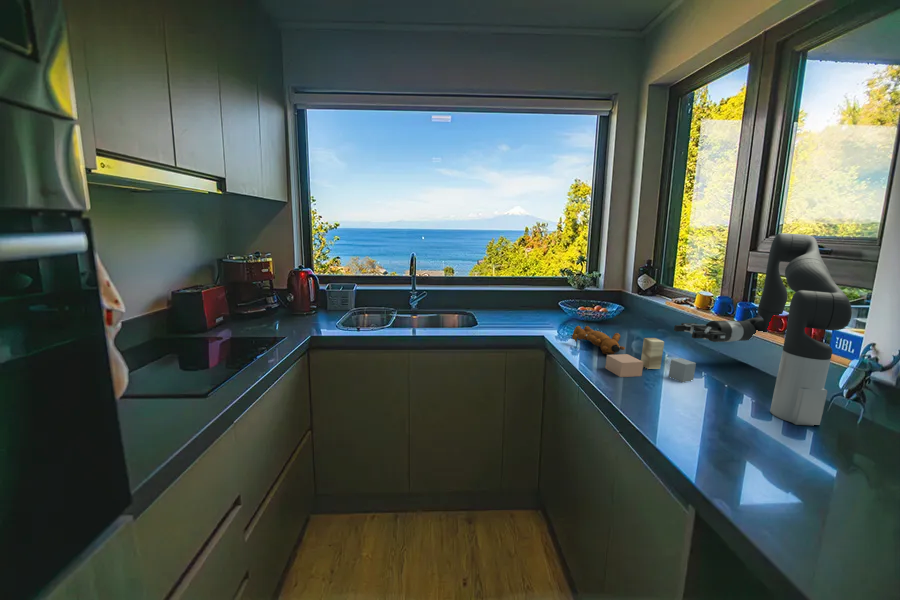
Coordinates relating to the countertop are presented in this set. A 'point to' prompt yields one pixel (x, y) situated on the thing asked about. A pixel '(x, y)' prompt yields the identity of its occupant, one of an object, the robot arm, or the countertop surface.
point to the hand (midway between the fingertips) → (683, 331)
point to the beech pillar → (652, 353)
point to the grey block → (682, 370)
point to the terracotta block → (624, 365)
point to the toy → (598, 339)
